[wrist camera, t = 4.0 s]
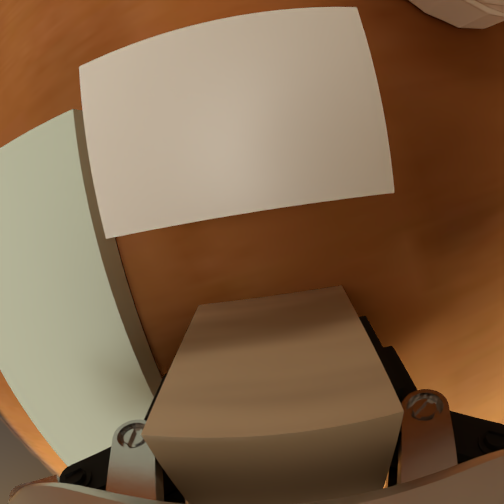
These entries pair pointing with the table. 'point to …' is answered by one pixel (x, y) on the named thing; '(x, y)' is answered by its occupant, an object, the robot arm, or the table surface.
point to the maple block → (275, 403)
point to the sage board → (66, 297)
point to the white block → (235, 119)
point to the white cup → (464, 12)
